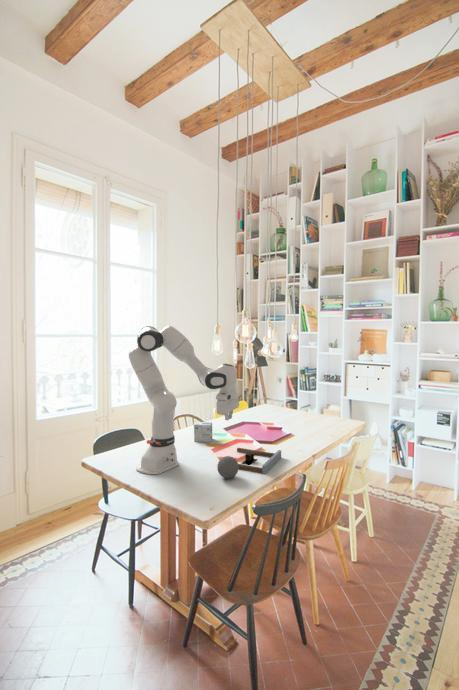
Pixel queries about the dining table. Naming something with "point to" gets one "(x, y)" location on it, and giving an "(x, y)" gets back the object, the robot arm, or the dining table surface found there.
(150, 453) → the robot arm
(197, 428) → the light bulb box
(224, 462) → the decorative ball
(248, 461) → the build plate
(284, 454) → the dining table surface
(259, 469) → the frame
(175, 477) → the dining table surface
